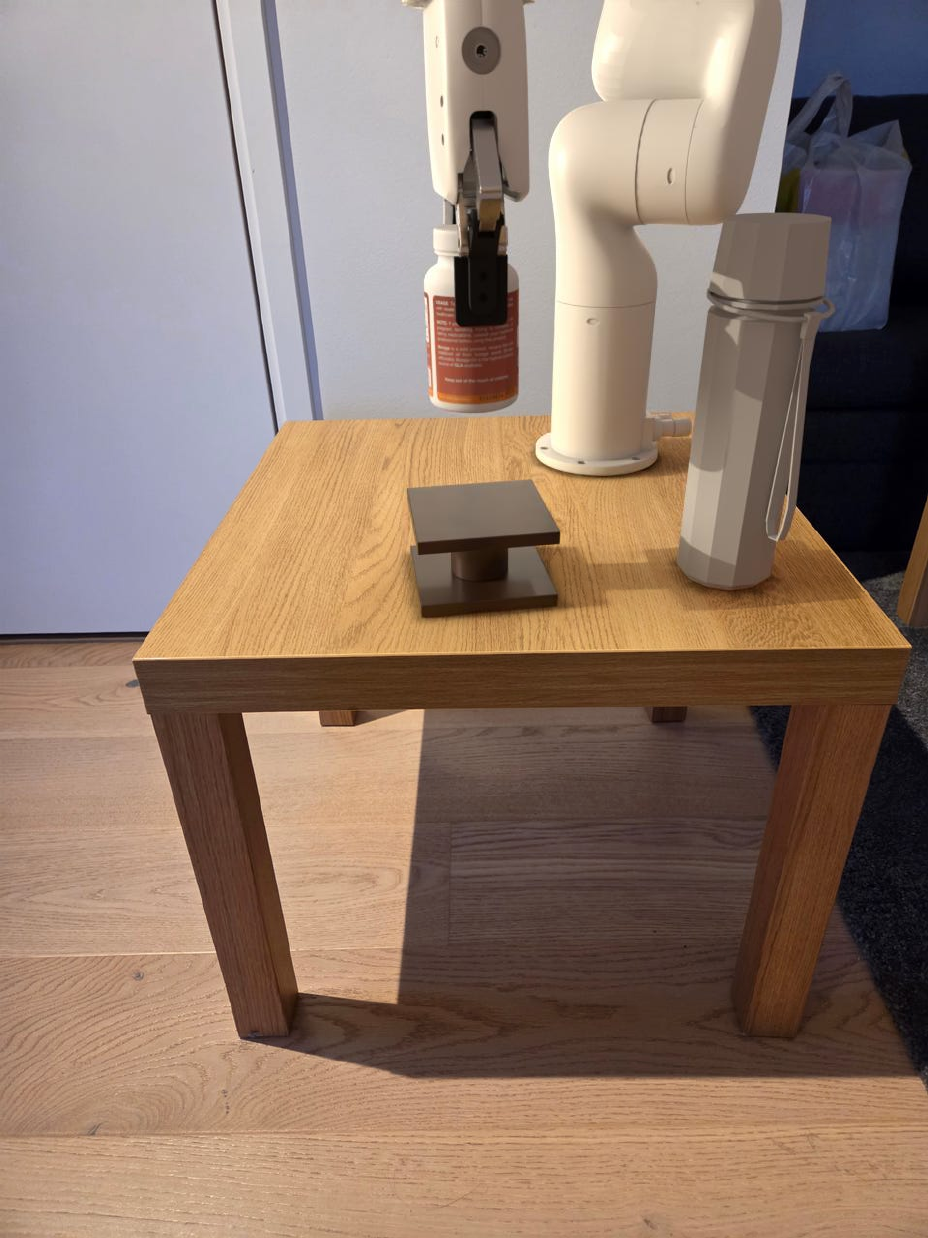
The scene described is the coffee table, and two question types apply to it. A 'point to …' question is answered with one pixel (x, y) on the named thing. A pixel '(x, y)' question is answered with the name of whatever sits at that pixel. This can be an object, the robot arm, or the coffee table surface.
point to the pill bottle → (468, 341)
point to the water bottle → (752, 395)
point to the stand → (480, 547)
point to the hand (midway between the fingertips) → (473, 311)
